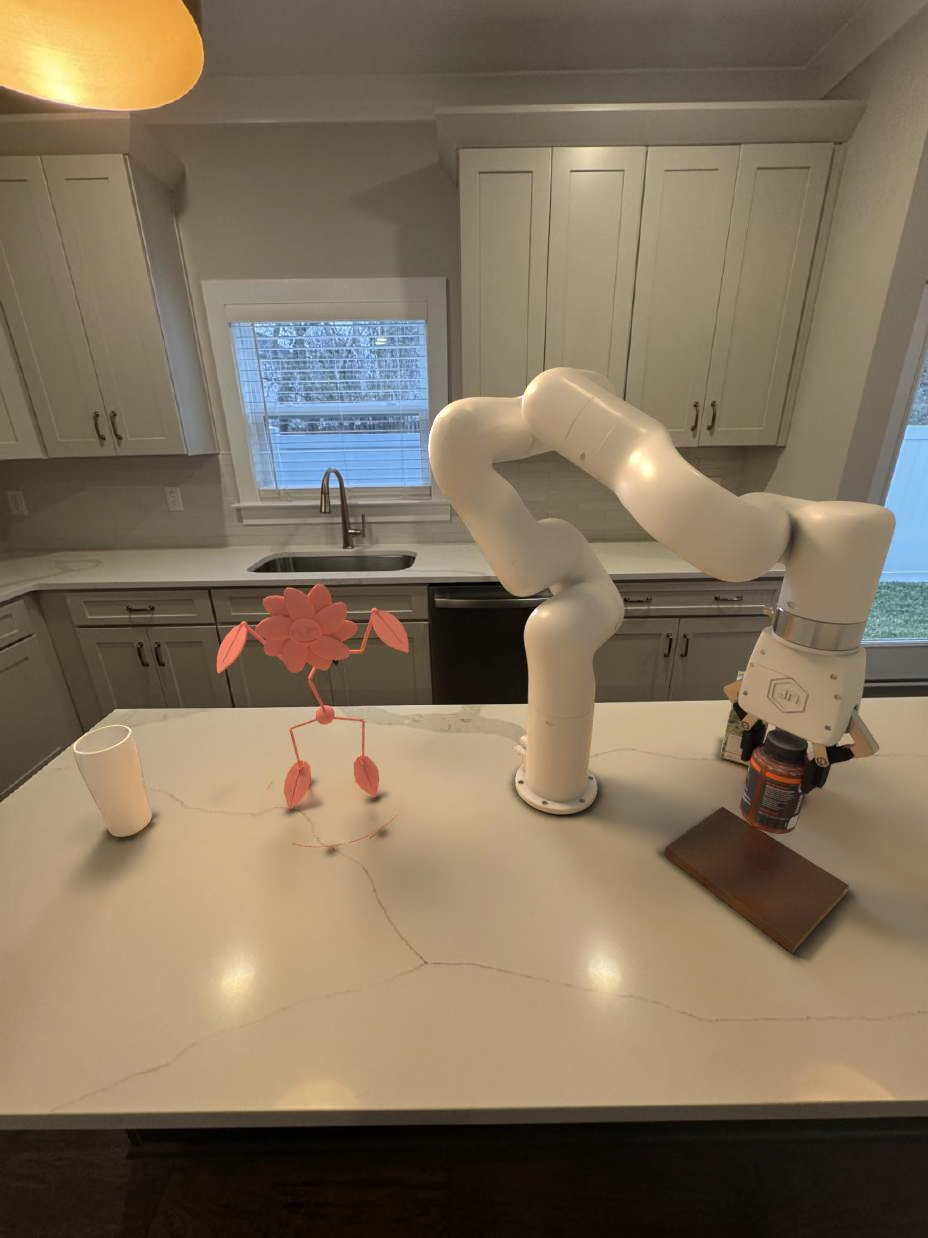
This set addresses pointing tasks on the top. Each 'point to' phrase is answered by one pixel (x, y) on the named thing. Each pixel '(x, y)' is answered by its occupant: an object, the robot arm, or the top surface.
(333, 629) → the figurine
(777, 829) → the supplement bottle
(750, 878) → the cutting board
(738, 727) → the syrup box
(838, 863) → the top surface
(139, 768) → the drinking glass
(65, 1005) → the top surface
